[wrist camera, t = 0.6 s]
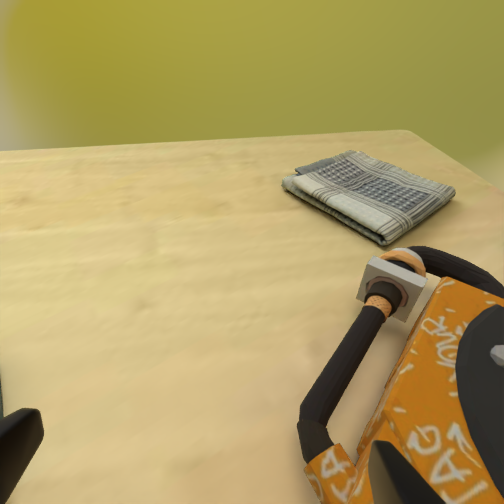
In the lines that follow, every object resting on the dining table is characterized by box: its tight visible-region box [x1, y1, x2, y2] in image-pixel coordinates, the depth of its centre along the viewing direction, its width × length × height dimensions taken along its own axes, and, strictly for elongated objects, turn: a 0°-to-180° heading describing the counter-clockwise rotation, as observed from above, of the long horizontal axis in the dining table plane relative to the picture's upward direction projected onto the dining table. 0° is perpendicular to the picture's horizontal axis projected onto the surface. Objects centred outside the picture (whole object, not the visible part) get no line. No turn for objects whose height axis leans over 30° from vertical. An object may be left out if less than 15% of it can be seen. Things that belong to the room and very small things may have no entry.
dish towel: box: [281, 150, 456, 246], centre depth 43 cm, size 19×18×3 cm
